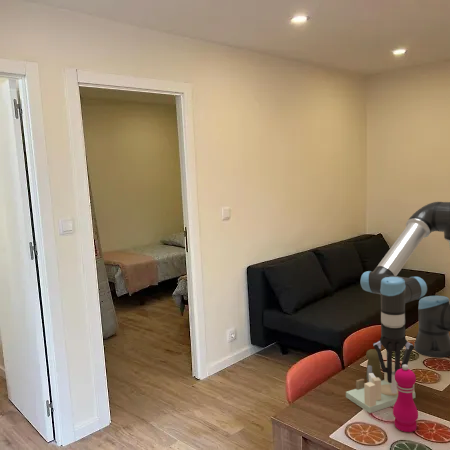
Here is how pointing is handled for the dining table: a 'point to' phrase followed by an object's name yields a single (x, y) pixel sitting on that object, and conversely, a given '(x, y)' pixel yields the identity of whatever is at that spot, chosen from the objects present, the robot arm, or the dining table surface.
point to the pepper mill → (405, 400)
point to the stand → (373, 393)
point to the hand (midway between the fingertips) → (393, 391)
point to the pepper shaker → (374, 363)
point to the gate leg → (378, 384)
